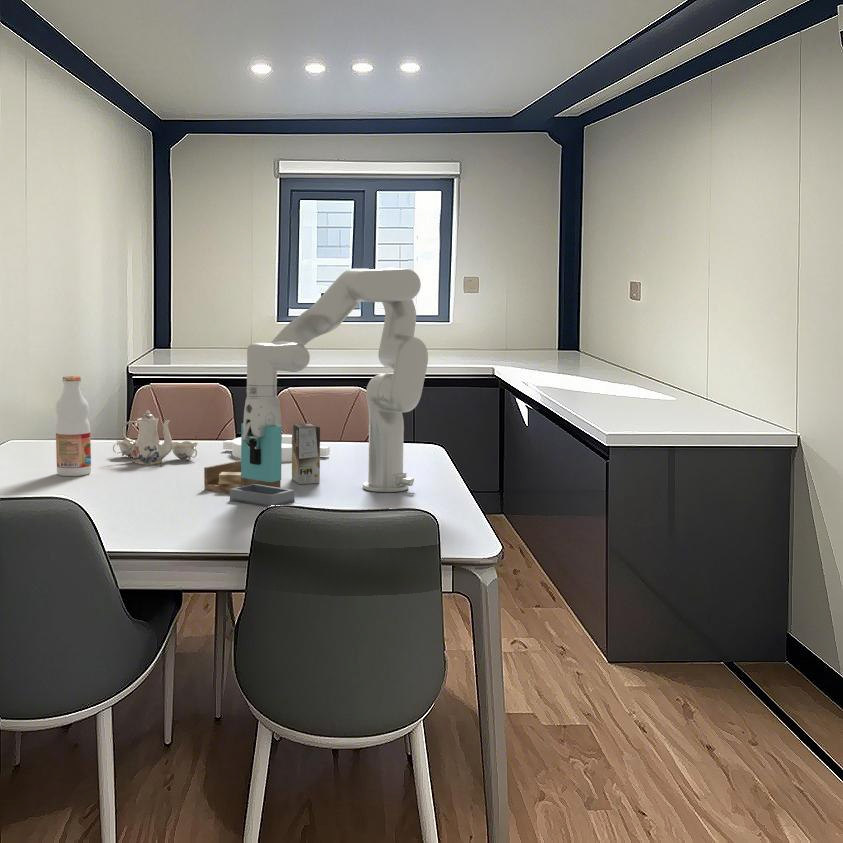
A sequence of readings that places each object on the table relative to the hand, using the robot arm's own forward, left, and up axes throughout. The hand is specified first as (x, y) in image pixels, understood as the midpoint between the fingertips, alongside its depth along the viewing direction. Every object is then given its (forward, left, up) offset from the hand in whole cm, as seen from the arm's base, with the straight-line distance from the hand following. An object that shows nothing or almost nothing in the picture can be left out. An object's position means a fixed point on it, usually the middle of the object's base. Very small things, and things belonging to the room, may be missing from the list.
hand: (261, 462), depth 272 cm
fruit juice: (+67, +4, -10) cm, 68 cm away
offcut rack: (+15, -10, -10) cm, 21 cm away
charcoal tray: (0, 0, -10) cm, 10 cm away
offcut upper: (+15, -6, -8) cm, 18 cm away
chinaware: (+66, -26, -11) cm, 72 cm away
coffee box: (+8, -28, -10) cm, 31 cm away
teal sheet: (0, 0, -4) cm, 4 cm away
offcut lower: (+15, -6, -11) cm, 19 cm away
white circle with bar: (+44, -58, -11) cm, 74 cm away
